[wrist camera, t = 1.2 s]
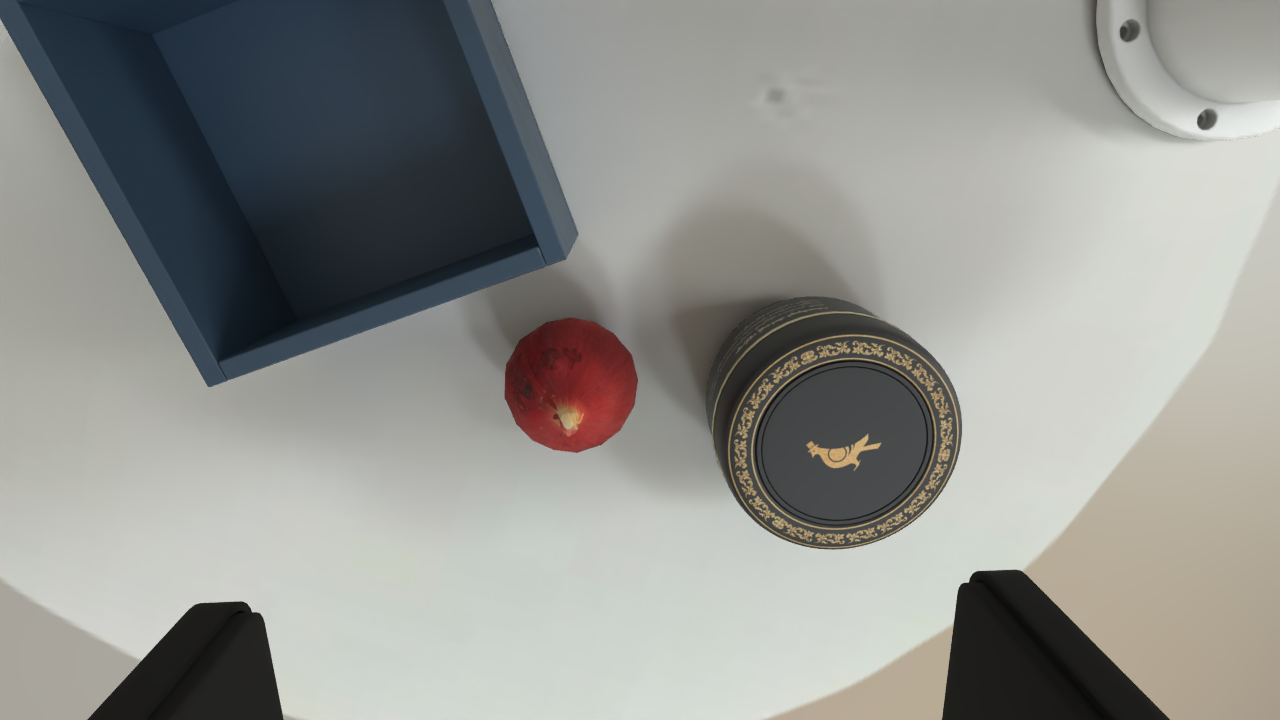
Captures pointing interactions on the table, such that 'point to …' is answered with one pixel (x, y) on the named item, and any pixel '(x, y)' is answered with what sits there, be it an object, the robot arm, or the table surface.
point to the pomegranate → (570, 384)
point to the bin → (300, 159)
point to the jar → (831, 423)
